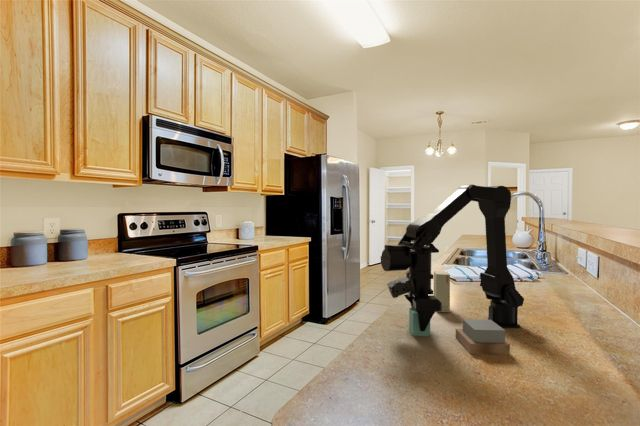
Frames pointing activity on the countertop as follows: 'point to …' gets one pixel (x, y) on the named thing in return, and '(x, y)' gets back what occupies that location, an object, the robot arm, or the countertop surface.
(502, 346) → the bottom block
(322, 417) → the countertop surface
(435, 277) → the skincare box
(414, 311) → the pillar block
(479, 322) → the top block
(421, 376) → the countertop surface
